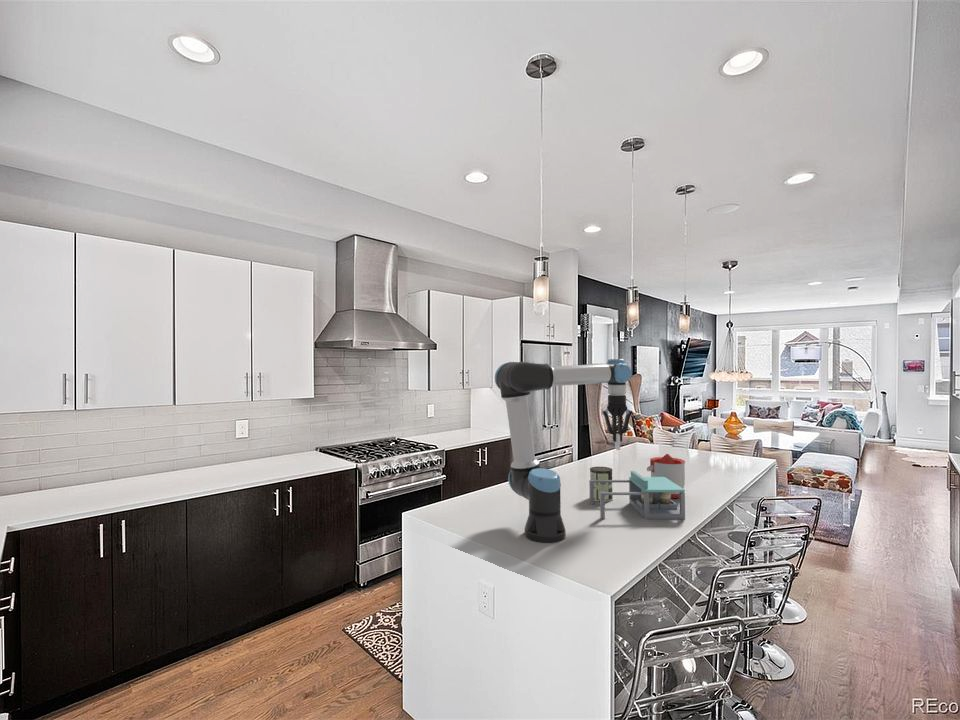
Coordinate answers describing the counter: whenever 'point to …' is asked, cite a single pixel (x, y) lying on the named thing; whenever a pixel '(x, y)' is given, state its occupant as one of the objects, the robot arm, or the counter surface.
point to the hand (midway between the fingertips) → (617, 449)
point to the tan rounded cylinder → (649, 497)
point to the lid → (654, 483)
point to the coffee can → (601, 474)
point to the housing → (635, 500)
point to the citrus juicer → (669, 470)
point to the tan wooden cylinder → (665, 497)
